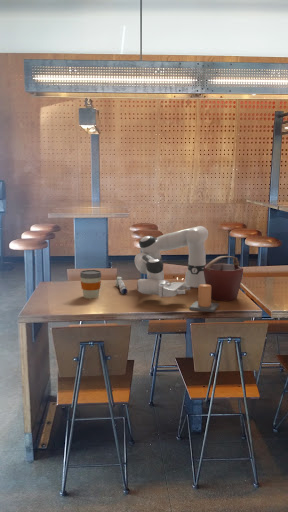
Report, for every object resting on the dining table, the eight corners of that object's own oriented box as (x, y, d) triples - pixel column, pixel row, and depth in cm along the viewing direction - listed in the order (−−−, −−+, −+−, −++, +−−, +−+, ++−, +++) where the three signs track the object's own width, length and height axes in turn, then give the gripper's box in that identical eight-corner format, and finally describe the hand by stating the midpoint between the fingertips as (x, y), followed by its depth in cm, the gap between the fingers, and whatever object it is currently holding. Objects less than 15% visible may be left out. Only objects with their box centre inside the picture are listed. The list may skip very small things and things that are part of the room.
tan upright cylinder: (200, 303, 251) (200, 283, 249) (211, 304, 248) (212, 284, 246) (197, 306, 245) (197, 286, 243) (208, 307, 242) (209, 287, 240)
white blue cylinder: (120, 288, 274) (114, 274, 298) (120, 298, 276) (114, 284, 300) (128, 288, 275) (122, 274, 299) (128, 298, 277) (122, 283, 301)
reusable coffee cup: (98, 299, 263) (97, 274, 260) (77, 298, 265) (77, 273, 263) (104, 294, 275) (103, 270, 272) (84, 293, 277) (84, 269, 275)
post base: (196, 303, 255) (196, 289, 254) (218, 306, 250) (219, 292, 249) (189, 309, 243) (190, 295, 242) (213, 312, 238) (213, 297, 237)
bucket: (232, 292, 282) (233, 252, 278) (250, 301, 261) (252, 258, 257) (196, 294, 274) (197, 254, 270) (212, 304, 254) (214, 260, 250)
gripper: (169, 289, 263) (192, 291, 258) (158, 297, 245) (182, 300, 240) (170, 278, 262) (193, 280, 257) (158, 286, 244) (182, 288, 239)
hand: (187, 290), depth 248 cm, fingers open, 8 cm apart
